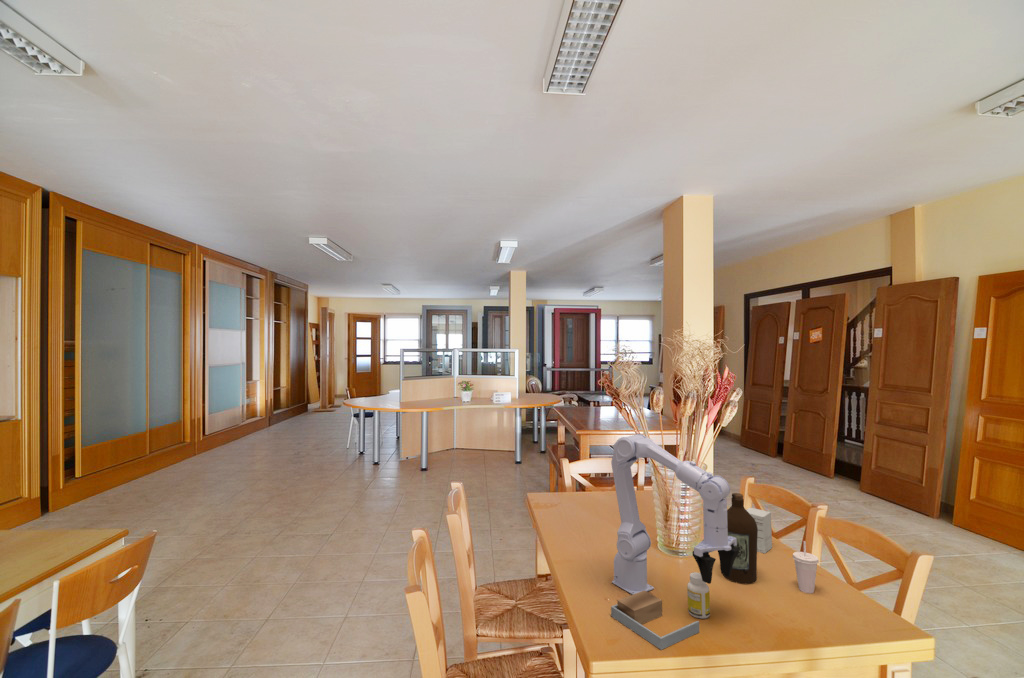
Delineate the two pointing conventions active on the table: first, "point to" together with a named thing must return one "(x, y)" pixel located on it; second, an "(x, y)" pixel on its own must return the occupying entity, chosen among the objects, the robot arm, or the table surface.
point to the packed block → (641, 606)
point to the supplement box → (762, 529)
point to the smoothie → (805, 570)
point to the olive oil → (742, 541)
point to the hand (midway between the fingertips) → (716, 578)
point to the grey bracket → (651, 636)
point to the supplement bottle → (698, 597)
